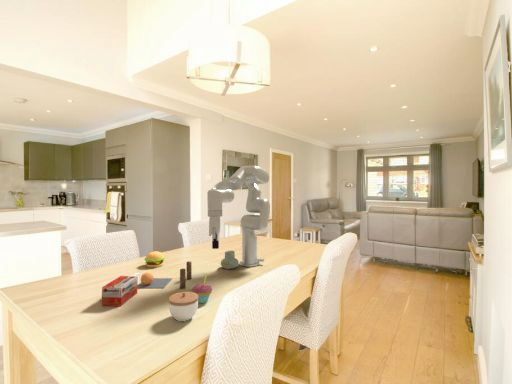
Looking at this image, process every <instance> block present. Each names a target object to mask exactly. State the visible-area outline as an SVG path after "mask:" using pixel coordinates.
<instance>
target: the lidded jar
mask: <svg viewBox="0 0 512 384" xmlns="http://www.w3.org/2000/svg"><path fill="white" fill-rule="evenodd" d="M198 298H199V296H198V294H196V293H194V292H192V291H180V292H177V293H173V294H172V295H170V296H169V297H168V310H169V313H170V315H171V316H172V318H173V319H176V320H178V321H177V322H179V321H184V322H186V321H185V320H188V321H190V320H191V319H192V318H193V317H194V316H195V315H196V313H197V311H198V307H199V303H198ZM189 319H190V320H189ZM176 320H175V321H176Z"/></svg>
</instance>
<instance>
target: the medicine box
mask: <svg viewBox="0 0 512 384" xmlns="http://www.w3.org/2000/svg"><path fill="white" fill-rule="evenodd" d="M138 280H139V278H138V276H132V275H120V276H118V277H117V278H115V279H114V280H111V281H109V283H107V284H105V285H104V286H102V287H101V307H112V306H113V307H122V306H124V305H125V304H126V303H127V302H128V301H130V300H131V299H132V298H133V297H134V296H136V295H137V294H138V288H137V285H138V284H139V283H138Z"/></svg>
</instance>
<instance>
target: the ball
mask: <svg viewBox="0 0 512 384" xmlns="http://www.w3.org/2000/svg"><path fill="white" fill-rule="evenodd" d="M154 278H155V277H154V275H153V273H151V272H145V273H143V274H142V275H140V283H142V284H144V285H149V284H151V283H152V282H153V279H154Z"/></svg>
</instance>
